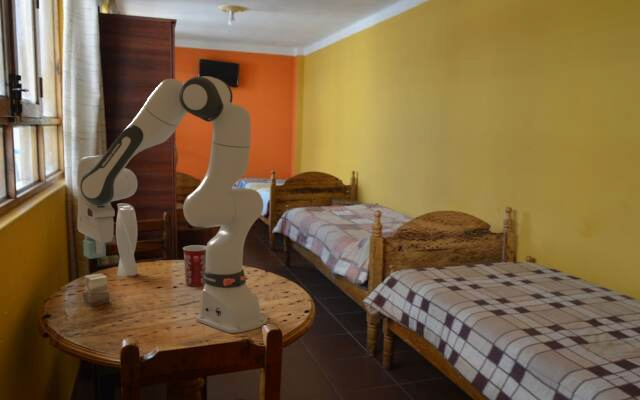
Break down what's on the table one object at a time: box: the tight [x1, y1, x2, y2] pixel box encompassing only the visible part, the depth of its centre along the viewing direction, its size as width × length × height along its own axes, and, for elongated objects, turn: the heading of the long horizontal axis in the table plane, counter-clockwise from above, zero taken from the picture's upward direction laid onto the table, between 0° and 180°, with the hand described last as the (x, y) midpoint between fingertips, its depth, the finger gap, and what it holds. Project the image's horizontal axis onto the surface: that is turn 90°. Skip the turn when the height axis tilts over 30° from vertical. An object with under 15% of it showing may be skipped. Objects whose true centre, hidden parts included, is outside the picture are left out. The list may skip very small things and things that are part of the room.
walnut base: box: [82, 290, 111, 306], centre depth 160 cm, size 6×6×3 cm
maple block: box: [84, 272, 108, 295], centre depth 159 cm, size 5×5×5 cm
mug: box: [182, 244, 207, 287], centre depth 180 cm, size 13×9×14 cm
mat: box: [80, 299, 112, 307], centre depth 160 cm, size 12×10×1 cm
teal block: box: [82, 239, 107, 260], centre depth 157 cm, size 5×5×5 cm
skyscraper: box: [115, 202, 139, 278], centre depth 188 cm, size 8×8×28 cm
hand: (94, 250), depth 157 cm, fingers closed on teal block, 5 cm apart
